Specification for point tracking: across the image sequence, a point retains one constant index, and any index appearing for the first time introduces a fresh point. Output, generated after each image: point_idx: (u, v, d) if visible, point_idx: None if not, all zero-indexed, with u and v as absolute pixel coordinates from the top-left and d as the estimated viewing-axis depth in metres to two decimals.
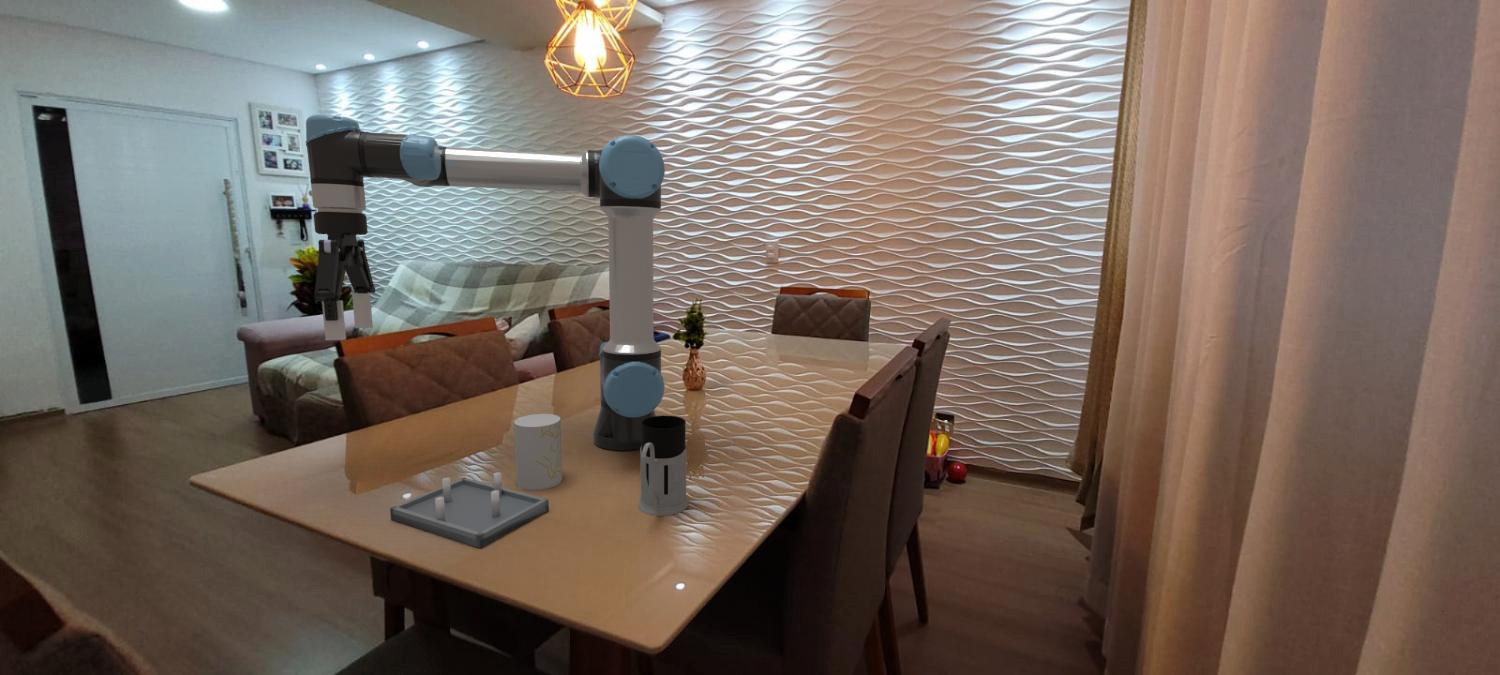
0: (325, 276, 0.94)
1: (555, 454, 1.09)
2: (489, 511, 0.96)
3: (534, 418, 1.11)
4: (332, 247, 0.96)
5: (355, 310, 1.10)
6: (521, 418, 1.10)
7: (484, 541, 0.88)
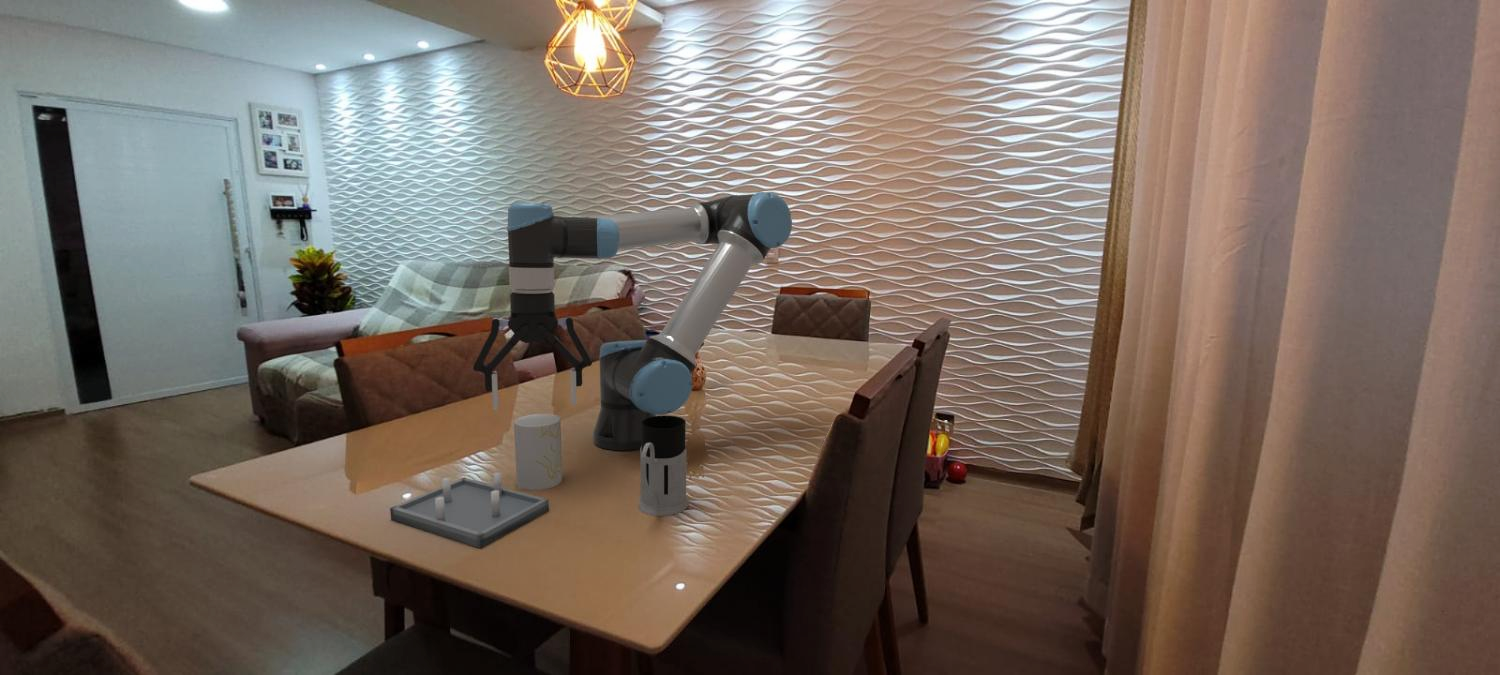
0: None
1: (555, 454, 1.09)
2: (489, 511, 0.96)
3: (534, 418, 1.11)
4: None
5: None
6: (521, 418, 1.10)
7: (484, 541, 0.88)
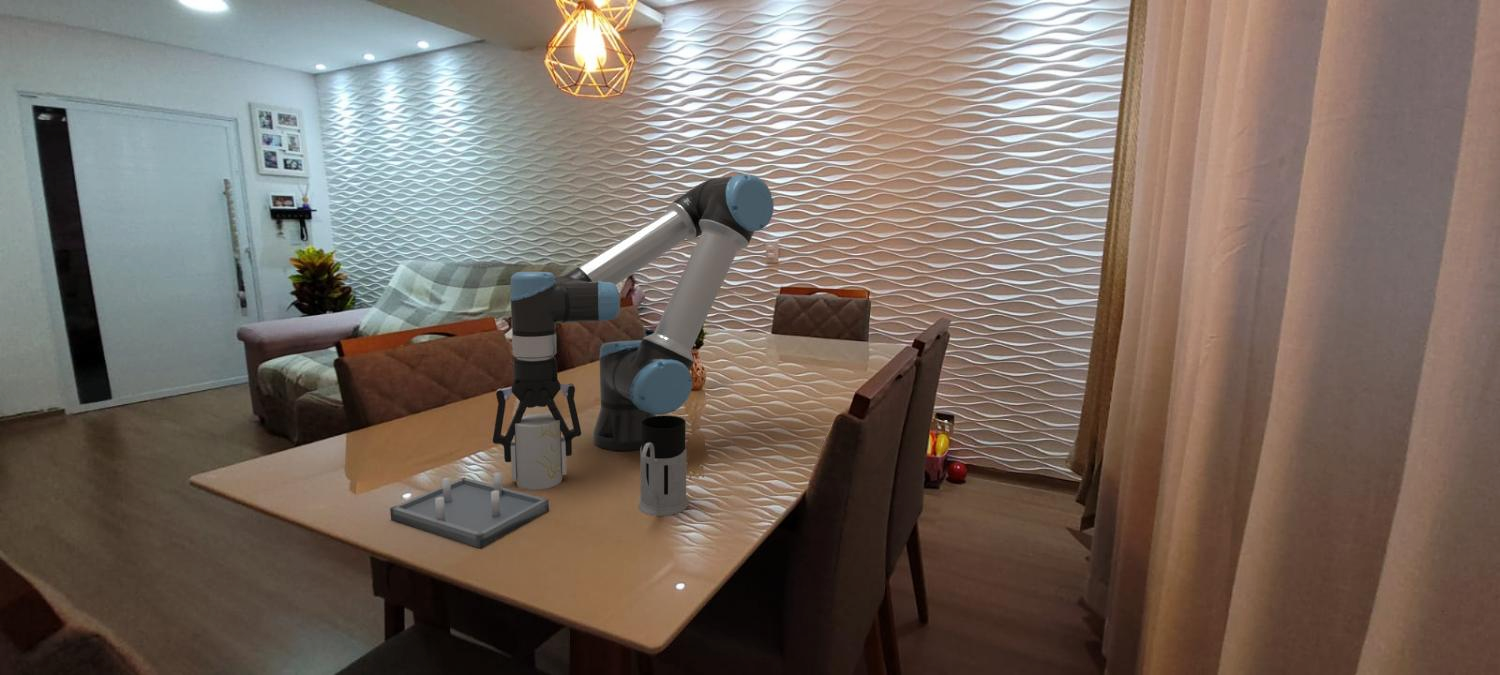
0: None
1: (555, 454, 1.09)
2: (489, 511, 0.96)
3: (534, 418, 1.11)
4: (497, 398, 1.06)
5: None
6: None
7: (484, 541, 0.88)
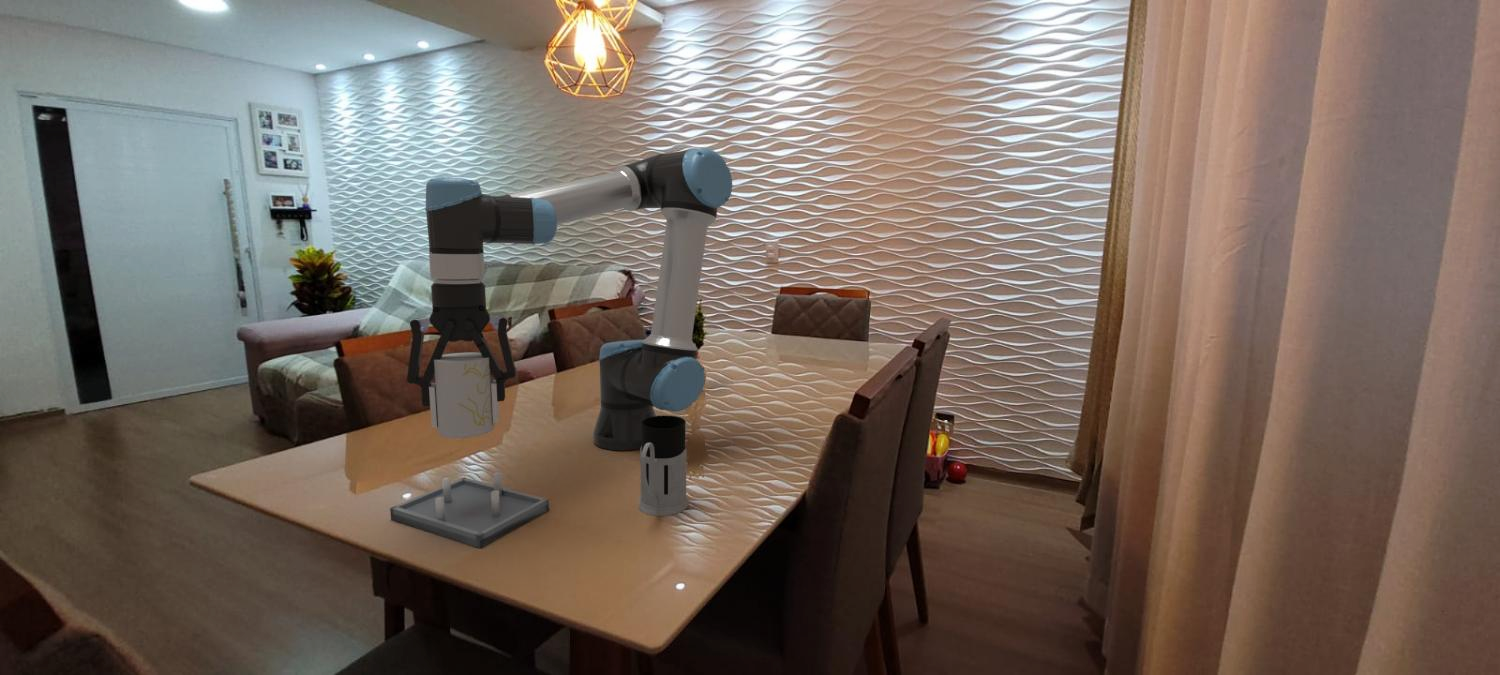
0: None
1: (482, 397, 0.92)
2: (489, 511, 0.96)
3: (460, 355, 0.94)
4: None
5: None
6: (444, 355, 0.94)
7: (484, 541, 0.88)
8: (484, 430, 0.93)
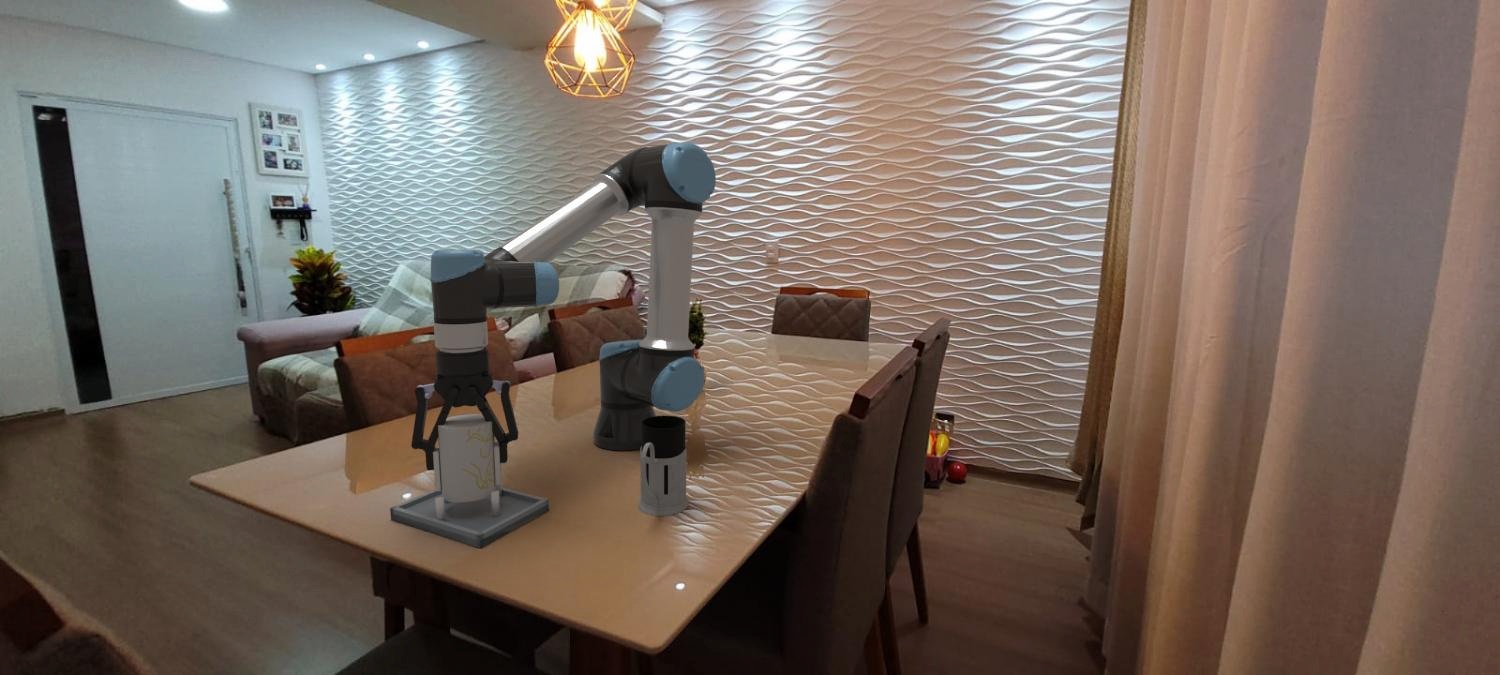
0: None
1: (485, 461, 0.94)
2: (489, 511, 0.96)
3: (463, 419, 0.96)
4: None
5: None
6: (448, 419, 0.95)
7: (484, 541, 0.88)
8: (487, 493, 0.95)
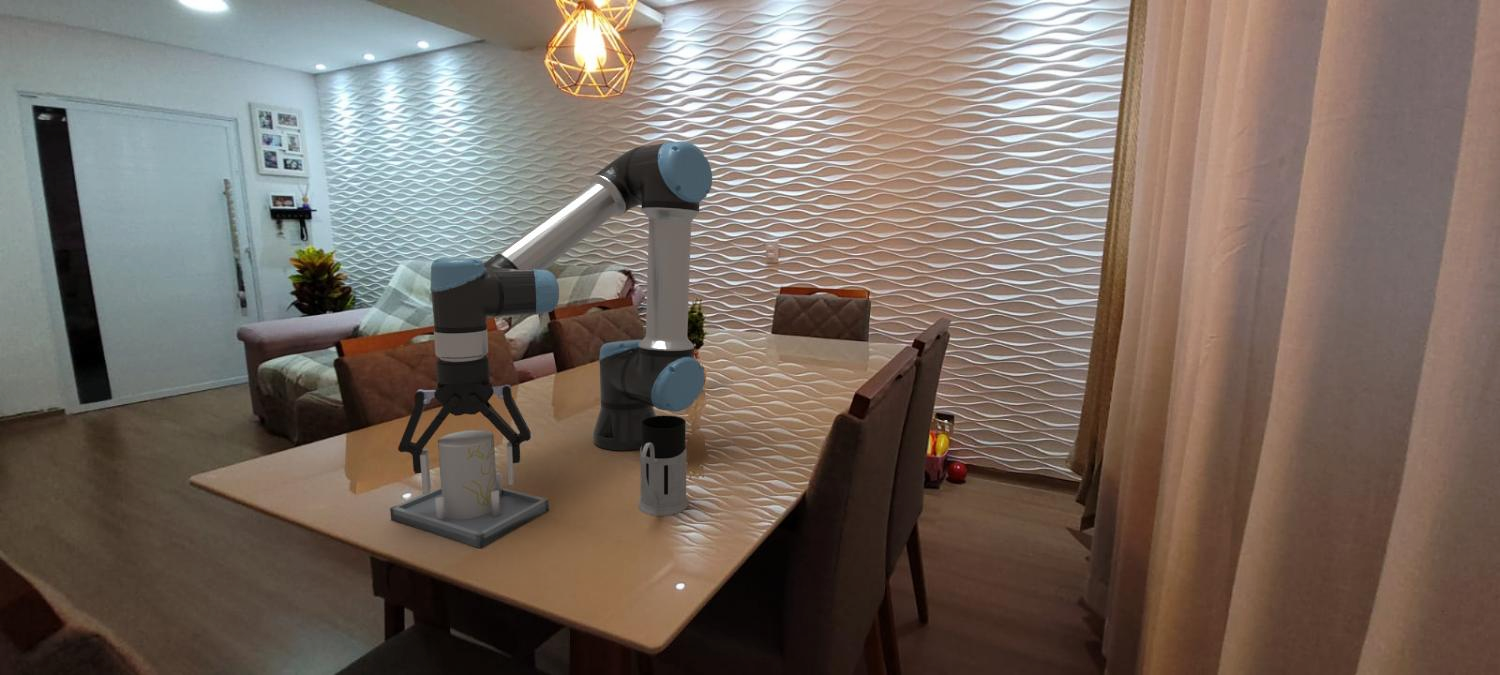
0: None
1: (486, 478, 0.94)
2: None
3: (463, 435, 0.96)
4: None
5: None
6: (448, 436, 0.96)
7: (484, 541, 0.88)
8: (488, 509, 0.95)
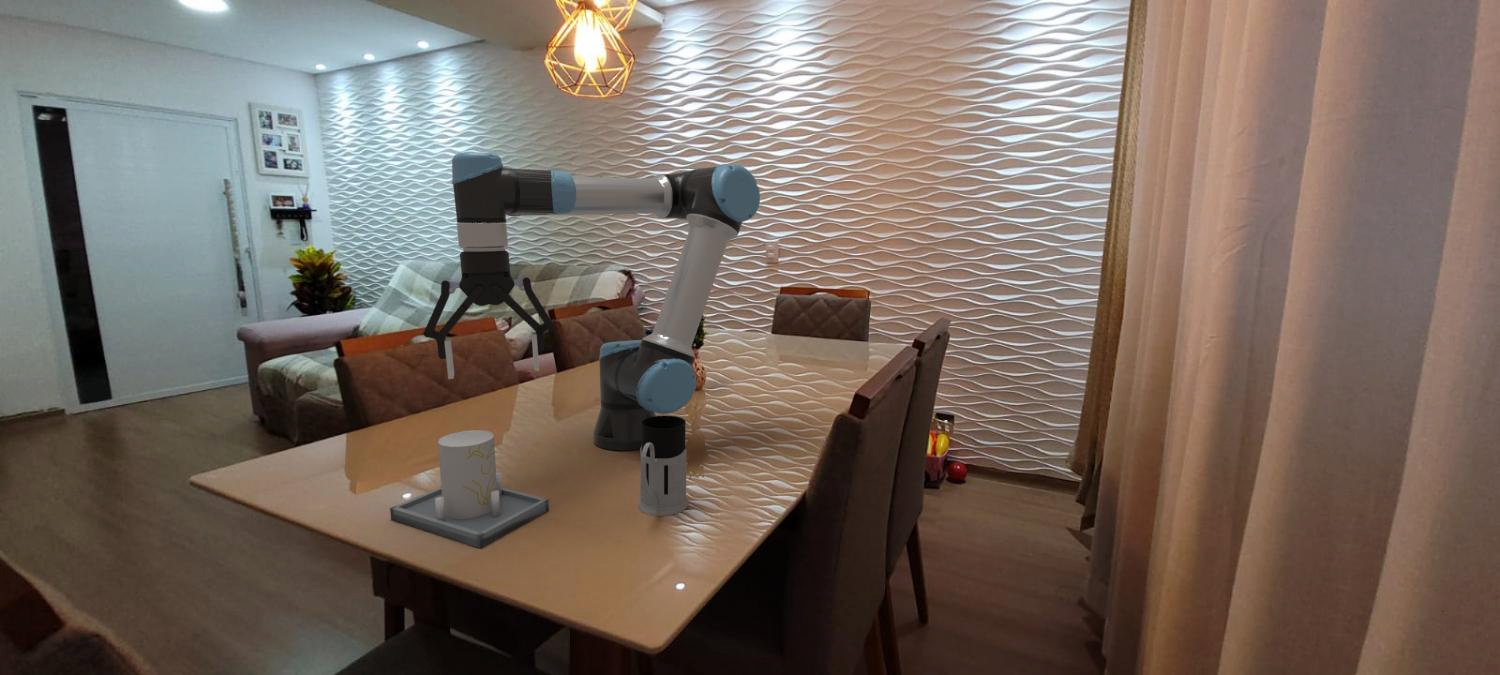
0: None
1: (486, 477, 0.95)
2: None
3: (464, 435, 0.96)
4: (441, 288, 0.96)
5: None
6: (448, 436, 0.96)
7: (484, 541, 0.88)
8: (488, 509, 0.95)
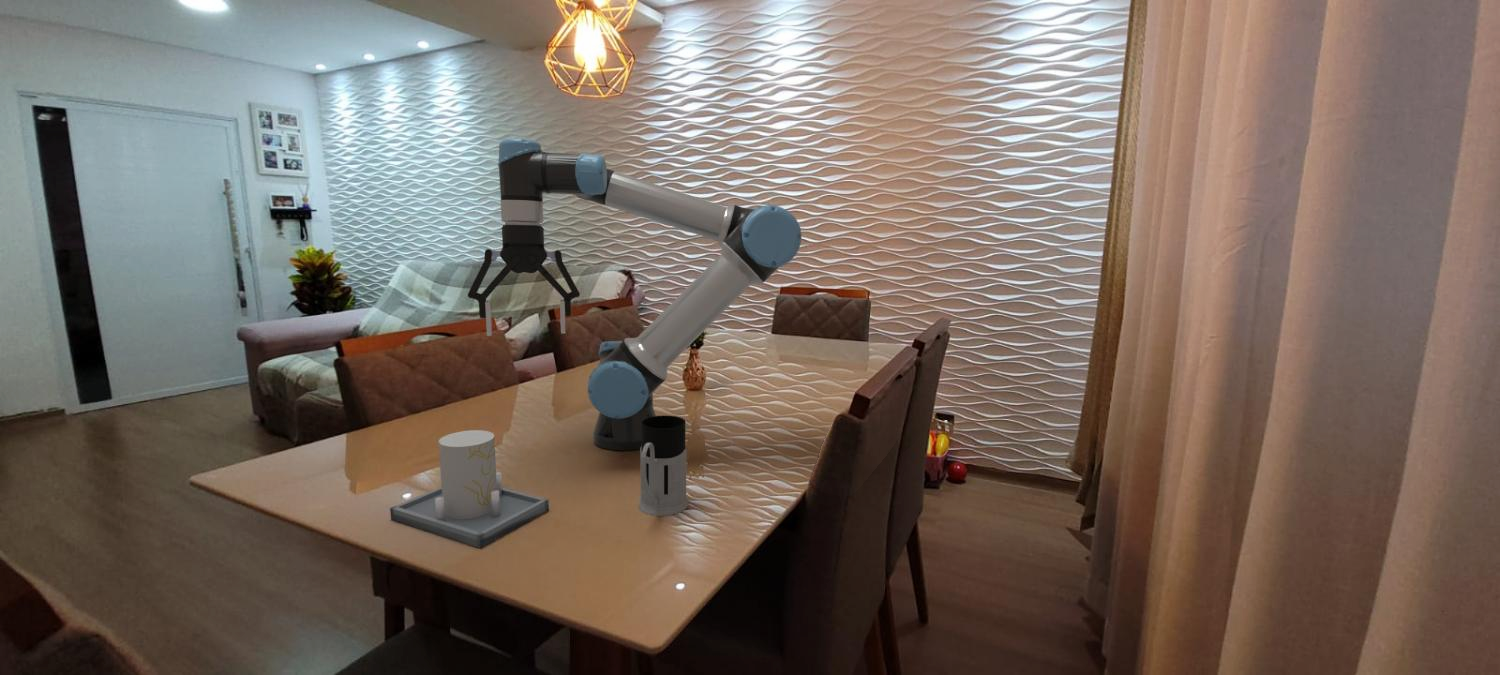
0: None
1: (486, 477, 0.95)
2: None
3: (464, 435, 0.96)
4: None
5: (560, 315, 1.19)
6: (449, 436, 0.96)
7: (484, 541, 0.88)
8: (488, 509, 0.95)
